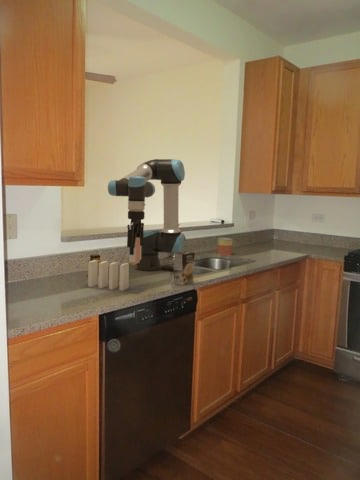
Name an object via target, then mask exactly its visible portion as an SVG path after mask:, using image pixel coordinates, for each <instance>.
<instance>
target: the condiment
mask: <svg viewBox="0 0 360 480" xmlns="http://www.w3.org/2000/svg"><path fill="white" fill-rule="evenodd" d="M93 260H98V270H99V263H100V262H102V260H101V255H100V254H97V253H96V254H90V255H89V261H88V262H90V261H93Z"/></svg>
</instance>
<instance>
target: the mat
mask: <svg viewBox="0 0 360 480" xmlns="http://www.w3.org/2000/svg"><path fill="white" fill-rule="evenodd" d="M119 287H120V284H118V287H116V288H114V289H109V283H108V286H106V287H103V288H98V284H97V285H95V286H93V287H88V283H86V284H84V285H81V286H80V288H85V289H93V290H102V291H111V292H116V293H118V292H119V293H126V294H135V295H139V294H141V293H143V292H144V291H146V290H148V288H145V287H140V286H130V285H128V288H127V289H125V290H124V291H120V290H119Z"/></svg>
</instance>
